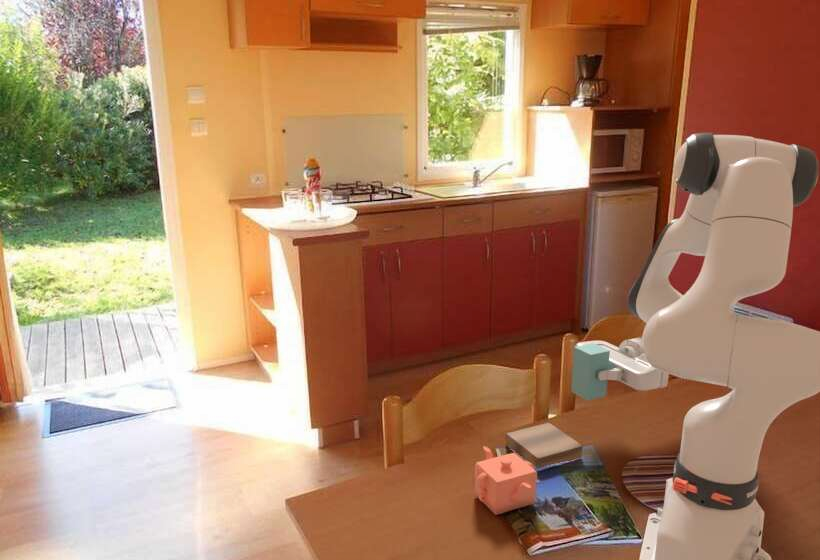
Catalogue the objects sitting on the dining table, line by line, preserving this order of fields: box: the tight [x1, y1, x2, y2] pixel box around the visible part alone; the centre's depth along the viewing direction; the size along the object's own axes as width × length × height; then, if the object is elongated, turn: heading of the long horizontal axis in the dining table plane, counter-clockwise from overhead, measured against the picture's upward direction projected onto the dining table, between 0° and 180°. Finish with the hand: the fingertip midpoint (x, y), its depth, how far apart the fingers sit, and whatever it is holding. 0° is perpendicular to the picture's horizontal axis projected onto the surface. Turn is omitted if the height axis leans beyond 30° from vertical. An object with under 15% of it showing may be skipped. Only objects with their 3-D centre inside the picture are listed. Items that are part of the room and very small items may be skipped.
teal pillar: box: [570, 343, 610, 402], centre depth 133 cm, size 5×5×10 cm
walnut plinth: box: [505, 422, 584, 469], centre depth 133 cm, size 11×11×3 cm
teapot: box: [474, 446, 538, 516], centre depth 116 cm, size 12×15×8 cm
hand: (586, 369), depth 133 cm, fingers closed on teal pillar, 5 cm apart
